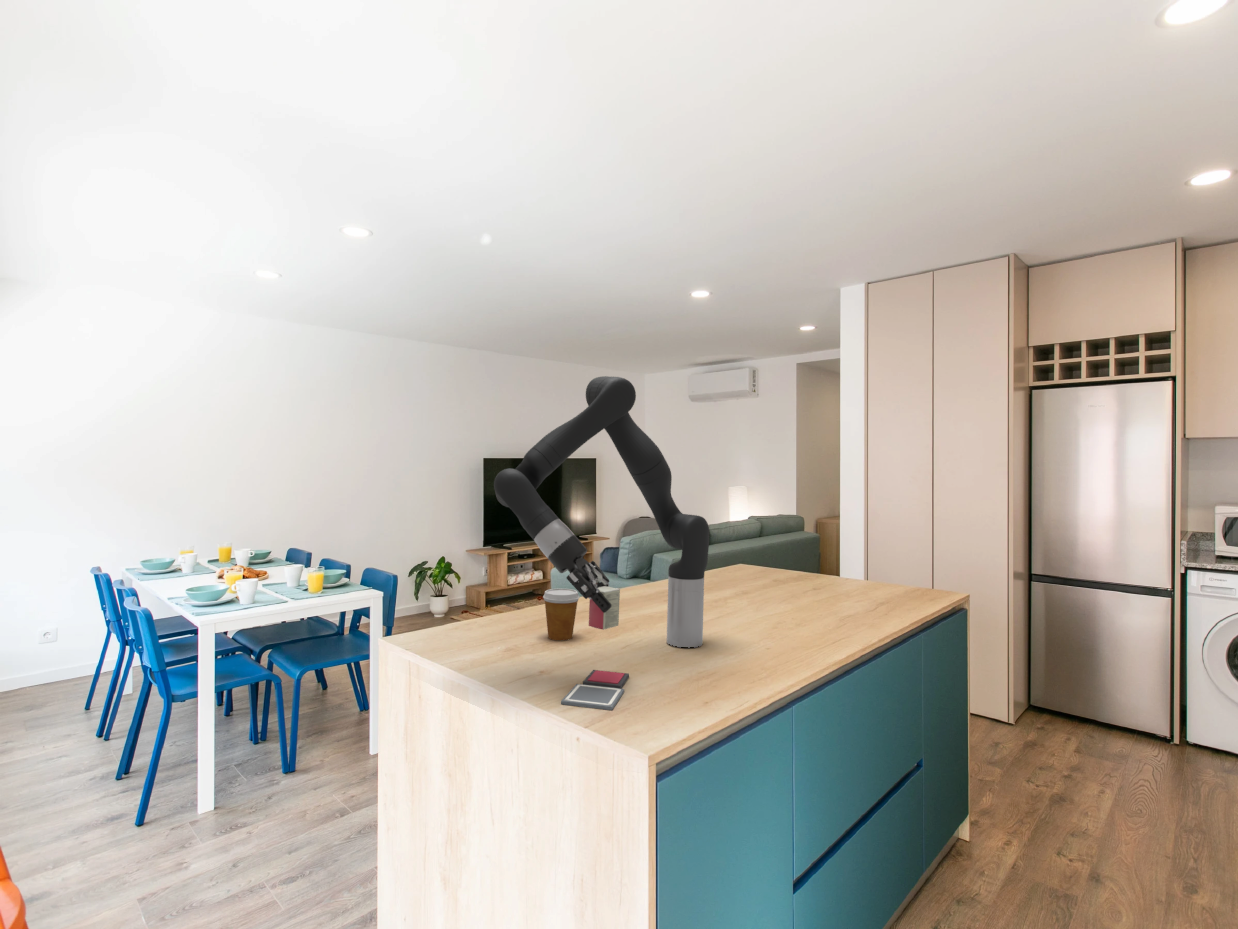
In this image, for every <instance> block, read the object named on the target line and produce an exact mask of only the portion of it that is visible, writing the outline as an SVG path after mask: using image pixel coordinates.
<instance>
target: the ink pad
mask: <svg viewBox="0 0 1238 929" xmlns="http://www.w3.org/2000/svg"><path fill="white" fill-rule="evenodd" d="M629 678H630V673H629V672H628V673H627V672H617V671H611V670H609V671H607V670H598V669H592V671H591V672H589V674H588V675H587V676H586V678H585V679H583V681H582V684H584V685H593V686H602V687H611V688H620V689H623V687H624V685H625V684H626V682H627V681H628V679H629Z"/></svg>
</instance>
